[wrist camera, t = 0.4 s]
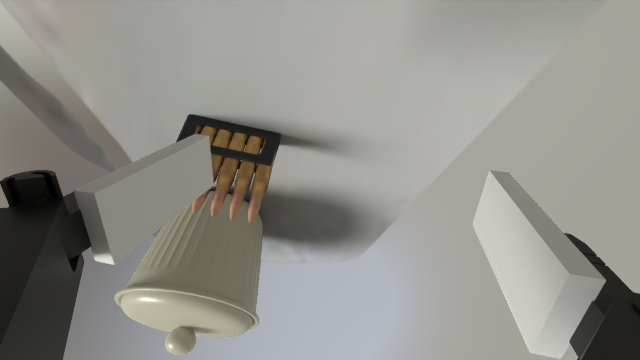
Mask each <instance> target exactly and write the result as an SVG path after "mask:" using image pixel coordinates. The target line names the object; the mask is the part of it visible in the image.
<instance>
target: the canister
mask: <svg viewBox="0 0 640 360" xmlns="http://www.w3.org/2000/svg"><path fill="white" fill-rule="evenodd" d="M214 193H215V191H210V192H209V193H208V196H207V198H206V200H205V202H204V204H203V205H202V207H201V208H200V209H199V210H198V211H197V212H196V213H195V214H194V213H193V211H192V205H193V202H192V203H191V204H190V205H189V206H187V207H186V208H185V209H184V210H182V211H181V212H180V213H179V214H177V215H176V216H175V217H174V218H172V219H171V220H170V221H168V222H167V223H166V224H165V225H164V226H163V227H162V229H161V230H160V232H159V234H158V235H157V237H156V238H155V240H154V242H153V243H152V245H151V247H150V248H149V250H148V252H147V253H146V255H145V257H144V258H143V260H142V261H141V263H140V265H139V267H138V268H137V270H136V271H135V273H134V275H133V277H132V278H131V280H130V282H129V283H128V285H127V287H126V288H124V289H121V290H120V291H119V292H117V293H116V295H115V301H116V303H117V304H118V305H119V306H120V307H122V310H123V311H124V313H125V314H126V315H127V316H129V317H130V318H131V319H133V320H135V321H137V322H139V323H141V324H144V325H146V326H149V327H152V328H155V329H159V330H163V331H167V332H170V333H169V335H168V336H167V338H166V341H165V346H166V349H167V350H168V351H169V352H170V353H172V354H176V355H184V354H187V353H189V352H190V351H191V350H192V349H193V348H194V346H195V343H196V337H207V338H208V337H209V338H224V337H233V336H237V335H241V334H243V333H244V332H246V331H248V330H249V329H253V328H255V327H256V326H257V325H258V324H259V318H258V316H257V314H256V304H257V295H258V284H259V283H258V282H259V274H260V264H261V252H262V237H263V227H262V220H261V218H260V215H259V213H258V215H257V217H256V218H255V220H254V221H253V222H252V223H251V224H250V223H249V220H248V209H249V203H248V202H246V201H245V200H244V201H243V204H242V207H241V209H240V211H239V213H238V215H237V216H236V217H235V219H234V220H231V219H230V204H231V200H232V196H233V194H227V196H226V198H225V201H224V203H223V205H222V207H221V209H220V210H219V212H218V213H217V214H216V215H215V216H214V217H212V216H211V204H212V199H213V196H214Z"/></svg>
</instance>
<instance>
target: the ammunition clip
mask: <svg viewBox="0 0 640 360" xmlns="http://www.w3.org/2000/svg"><path fill="white" fill-rule="evenodd" d="M194 134H200V135H208V136H209V140H210V150H211V161H212V171H213V182H215V181H216V179H217V176H218V179H217V185H216V189H215V193H214V196H213V199H212V204H211V216H212V217H214V216H215V215H216V214H217V213H218V212H219V210H220V209H221V207H222V205H223V203H224V201H225V198H226V196H227V194H228V191H229V189H230V187H231V186H232V184H233V181H234V178H235V175H236V172H237V169H239V170H238V174H237V177H236V180H235V185H234V192H233V196H232V200H231V204H230V219H231V220H234V219H235V217H236V216H237V215H238V213H239V211H240V209H241V207H242V204H243V201H244V198H245V196H246V193H247V191H248V189H249V187H250V185H251V181H252V178H253V174H254V173H255V176H254V180H253V183H252V193H251V197H250V198H251V199H250V203H249V209H248V220H249V223H250V224H251V223H252V222H253V221H254V220H255V218H256V217H257V215H258V212H259V210H260V207H261V204H262V201H263V198H264V194H265V192H266V190H267V188H268V184H269V179H270V175H271V171H272V167H273V163H274V160H275V156H276V153H277V150H278V146H279V142H280V136H281V135H280V134H279V133H275V132H270V131H265V130H261V129H256V128H251V127H247V126H242V125H238V124H233V123H228V122H224V121H219V120H214V119H210V118H205V117H201V116H196V115H191V114H190V115H188V117H187V119H186V121H185V123H184V126H183V128H182V130H181V132H180V134H179V137H178V139H177V141H176V142H179V141H181V140H183V139H185V138H187V137H190V136H192V135H194ZM245 145H246V148H245ZM228 147H229V148H228ZM244 148H245V151H244ZM261 148H262V150H261ZM260 150H261V153H260ZM243 151H244V152H243ZM259 153H260V154H259ZM240 160H242V161H241V162H240ZM257 163H258V164H257ZM256 164H257V165H256ZM221 166H222V167H221ZM220 168H221V170H220ZM219 171H220V173H219ZM218 173H219V175H218ZM210 190H211V188H210V189H209V190H207V191H206V192H205V193H204V194H202V195H201V196H200V197H199V198H197V199H196V200H195V201H194V202H193V205H192V211H193V213H194V214H195V213H196V212H197V211H198V210H199V209H200V208H201V207H202V205H203V204H204V202H205V200H206V198H207V196H208V193H209V192H210Z"/></svg>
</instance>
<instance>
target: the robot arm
mask: <svg viewBox="0 0 640 360" xmlns="http://www.w3.org/2000/svg"><path fill="white" fill-rule="evenodd" d="M0 184H1V187H2V189H3V192H4V194H5V196H6V199H7V201H8V204H9V207H8V208H0V360H63V356H64V351H65V347H66V342H67V338H68V333H69V329H70V324H71V320H72V315H73V310H74V306H75V301H76V297H77V292H78V288H79V283H80V279H81V274H82V270H83V265H84V259H83V256H82V252H83V251H85V250H86V249H88V248H89V247H91V248H92V252H93V255H94V258H95V261H99V262H103V263H108V264H113V265H114V264H116V263H117V262H118V261H120V260H121V259H122V258H123V257H124V256H126V255H127V254H128V253H130V252H131V251H132V250H133V249H135V248H136V247H137V246H138V245H140V244H141V243H142V242H143V241H145V240H146V239H147V238H148V237H149V236H151V235H152V234H153V233H155V232H156V231H157V230H158V229H160V228H161V227H162V226H163V225H165V224H166V223H167V222H168V221H170V220H171V219H172V218H174V217H175V216H176V215H177V214H179V213H180V212H181V211H182V210H184V209H185V208H186V207H187V206H189V205H190V204H191V203H192V202H194V201H195V200H196V199H197V198H199V197H200V196H201V195H202V194H204V193H205V192H206V191H207V190H209V189H210V188H211V187H212V186H214V182H213V171H212V161H211V150H210V140H209V136H208V135H200V134H194V135H192V136H190V137H187V138H185V139H183V140H181V141H179V142H176V143H174V144H172V145H170V146H168V147H166V148H163V149H161V150H159V151H157V152H155V153H153V154H150V155H148V156H146V157H144V158H142V159H140V160H137V161H135V162H133V163H131V164H129V165H127V166H125V167H122V168H120V169H118V170H116V171H114V172H111V173H109V174H107V175H105V176H103V177H101V178H98V179H96V180H94V181H92V182H90V183H87V184H85V185H83V186H81V187H79V188H77V189H74V190H73V191H74V192H72V193H70V194H68V195H66V196H64V197H63V195H62V192H61V189H60V186H59V183H58V180H57V177H56V174H55V172H53V171H48V170H35V171H28V172H22V173H18V174H14V175H12V176H9V177H6V178H4V179H3V180H2V181H0ZM473 227H474V229H475V231H476V234H477V236H478V238H479V240H480V243H481V245H482V247H483V249H484V251H485V254H486V256H487V258H488V260H489V262H490V265H491V267H492V269H493V271H494V274H495V276H496V278H497V280H498V283H499V285H500V287H501V289H502V292H503V294H504V296H505V298H506V301H507V303H508V305H509V307H510V310H511V312H512V314H513V316H514V318H515V320H516V323H517V325H518V327H519V330H520V332H521V334H522V336H523V338H524V341H525V343H526V345H527V347H528V350H529V352H530V353H534V354H538V355H543V356H548V357H553V358H558V359H561V358H562V356H563V354H564V353H565V351H566V349H567V348H568V346H569V344H571V346H572V347H573V349H574V351H575V352H576V354H577V356H578V357H579V358H578V359H577V360H640V294H638V293H634V292H632V291H631V290H630V289H629V288H628V287H627V286H626V285H625V284H624V283H623V282H622V281H621V279H620V278H619V277H618V276H617V275H616V274H615V273H614V272H613V271H612V270H610V268H609V267H608V266H605V263H604V262H603V261H602V260H601V259H600V258H599V257H597V256H596V254H595V253H594V252H593V251H592V250H591V249H590V248H589V247H588V245H586V244H585V243H583V242H582V241H580V240H579V239H577V238H576V237H574V236H573V235H571V234H566V233H563V232H562V231H561V230H560V229H559V228H558V226H557V225H556V224H555V223H554V222H553V221H552V220H551V219H550V218H549V217H548V215H547V214H546V213H545V212H544V211H543V210H542V209H541V208H540V207H539V206H538V204H537V203H536V202H535V201H534V200H533V199H532V198H531V197H530V196H529V195H528V193H527V192H526V191H525V190H524V189H523V188H522V187H521V186H520V185H519V183H517V181H516V180H515V179H514V178H513V177H512V176H511V175H510V174H509V173H507V172H499V171H491V170H489V173H488V177H487V180H486V183H485V186H484V189H483V193H482V196H481V199H480V202H479V205H478V209H477V212H476V215H475V218H474V222H473Z"/></svg>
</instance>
